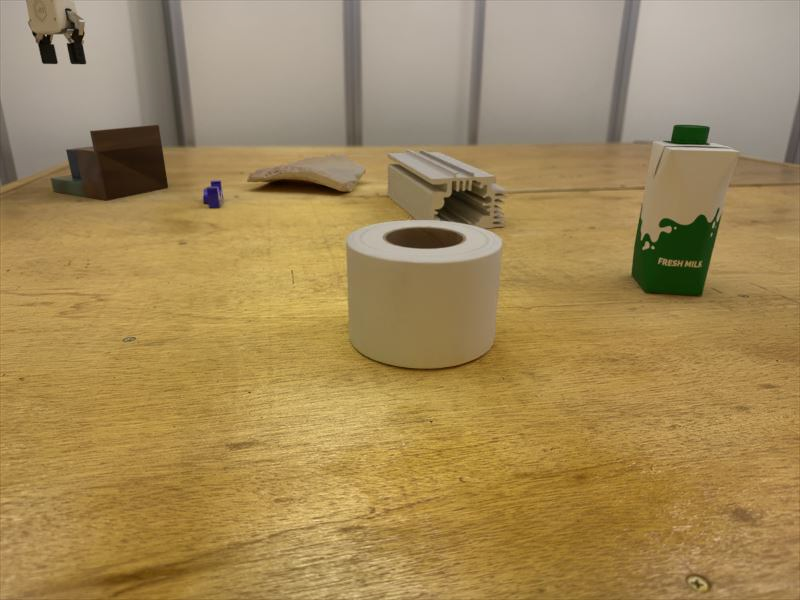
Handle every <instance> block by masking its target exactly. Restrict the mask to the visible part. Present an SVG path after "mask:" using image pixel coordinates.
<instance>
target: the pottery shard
mask: <svg viewBox="0 0 800 600" xmlns="http://www.w3.org/2000/svg"><path fill="white" fill-rule="evenodd" d="M366 173H367V172H366V167H365V166H364V165H362V164H360V163H358V162H355V161H353V160H351V159H350V157H349V156H348V155H345V154H334V153H333V154H332V153H331V154H330V155H326V156H325V157H322V156H309V157H305V158H304V159H300V160H297V161H292V162H288V163H285V164H280V165H278V166H270V167H262V168H258V169H256V170H255V171H254V172H253V173H249V176H248V177H247V179H246V182H247V183H274V182H279V181H285V180H294V181H295V180H297V181H306V182H310V183H314V184H317V185H322V186H325V187H328V188H331V189H333V190H337V191H339V192H352V191H353V190H354V188H355V187H356V186H357V184H358V183H359V182H360V181H361V179H362V177H363V176H364V175H365V174H366Z"/></svg>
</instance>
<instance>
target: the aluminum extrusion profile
mask: <svg viewBox="0 0 800 600" xmlns="http://www.w3.org/2000/svg"><path fill="white" fill-rule="evenodd" d="M418 151H419V152H415V151H413V150H411V149H409V148H406V149H405V152H392V153H391V152H390V153H389V152H388V153H387V159H389V160H390V161H393V162H394V163H388V164H387V168H386V169H387V176H386V177H387V178H386V179H387V197H389V198H390V199H391V200H392V201H393V202H395V204H397V205H398V206H399V207H400V208H402V209H403V210H404V211H405V212H406V213H407V214H409V215H410V216H411V217H412V218H413V219H414V220H434V221H447V222H456V223H462V224H467V225H472V226H476V227H480V228H483V229H493V228H494V229H495V228H501V227H506V226H507V225H506V223H504V222H506V221H507V218H506V217H503V216H504V215H505V213H504V212H502V210H503V208H502V207H501V206H499V205H505V204H506V202H505V201H503V200H504V199H508V198H509V195H506V194H505V193H509V189H507V188H504V187H503V186H500V185H498V184H496V183H497V176H496V175H494V174H491V173H489V172H486V171H484V170H482V169H480V168H477V167H475V166H472V165H470V164H468V163H465V162H463V161H460V160H458V159H456V158H454V157H452V156H449V155H447V154H443V153H442V152H439V151H432V152H431V151H426V150H424V149H422V148H418ZM501 199H503V200H501Z"/></svg>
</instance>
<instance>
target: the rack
mask: <svg viewBox="0 0 800 600" xmlns="http://www.w3.org/2000/svg"><path fill="white" fill-rule="evenodd" d="M89 134H90V138H91V139H90V140H91V143H92V146H93V147H92V146H89V147H90V148H84V147H80V148H81V149H76V148H74V149H75V151H76V156H77V160H78V165H79V170H80V174H81V178H75V177H72V175H71V174H69V175H62V176H56V177H51V178H50V182H51V187H52V191H53V192H54V193H60V194H66V195H72V196H78V197H82V198H90V199H95V200H101V201H106V202H107V201H112V200H116V199H120V198H121V199H122V198H126V197H130V196H135V195H140V194H145V193H149V192H150V193H151V192H154V191H159V190H164V189H168V188H169V182H168V177H167V176H168V175H167V171H166V170H167V169H166V163H165V156H164V151H163V144H162V137H161V131H160V125H159V124H149V125H139V126H128V127H117V128H105V129H95V130H90V131H89Z"/></svg>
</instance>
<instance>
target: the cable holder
mask: <svg viewBox="0 0 800 600" xmlns="http://www.w3.org/2000/svg"><path fill="white" fill-rule="evenodd" d="M222 181H223V180H220V179H219V180H211V181H210V186H207V187H205V188H204V189H203V194H202V195H203V196H202V199H203V205H208V208H209V209H220V208H221V206H222V203H223V201H224V191H223V182H222Z"/></svg>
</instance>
